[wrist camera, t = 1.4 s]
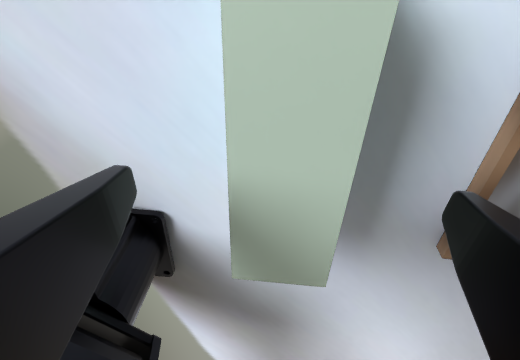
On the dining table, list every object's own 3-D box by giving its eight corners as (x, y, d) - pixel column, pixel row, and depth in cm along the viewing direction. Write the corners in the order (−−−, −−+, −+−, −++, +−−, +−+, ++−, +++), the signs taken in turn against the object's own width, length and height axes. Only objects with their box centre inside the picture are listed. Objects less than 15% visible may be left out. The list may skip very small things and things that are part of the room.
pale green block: (316, 187, 19) (325, 287, 13) (250, 182, 19) (231, 278, 13) (359, -66, 12) (421, -86, 6) (253, -70, 12) (216, -92, 6)
